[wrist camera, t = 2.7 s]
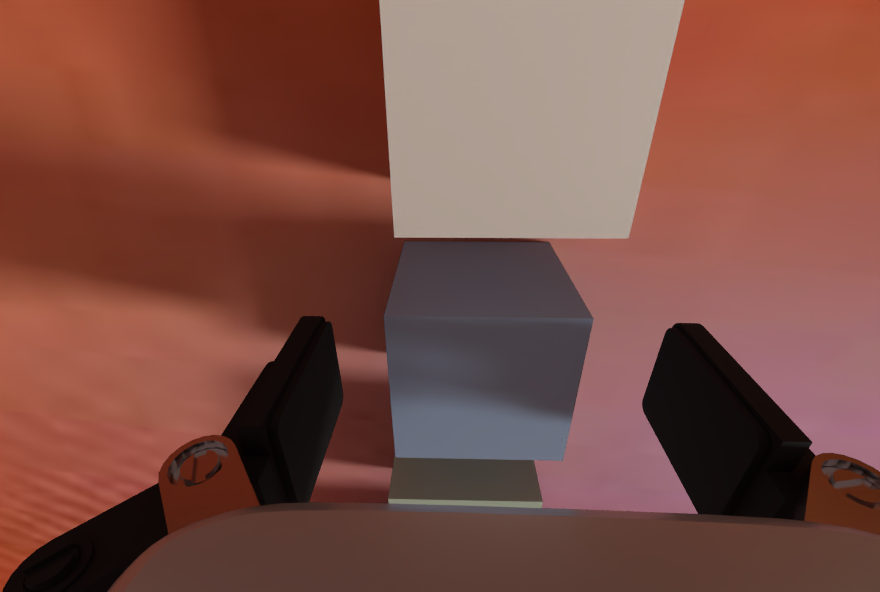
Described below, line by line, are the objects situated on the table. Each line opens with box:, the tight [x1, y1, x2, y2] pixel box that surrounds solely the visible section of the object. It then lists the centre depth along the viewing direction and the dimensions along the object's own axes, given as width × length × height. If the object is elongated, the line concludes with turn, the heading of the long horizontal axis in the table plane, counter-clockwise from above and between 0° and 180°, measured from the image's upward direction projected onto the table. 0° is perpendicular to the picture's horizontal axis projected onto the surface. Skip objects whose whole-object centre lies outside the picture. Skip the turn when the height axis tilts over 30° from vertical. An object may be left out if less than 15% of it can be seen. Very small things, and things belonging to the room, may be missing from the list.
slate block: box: [384, 241, 593, 461], centre depth 13 cm, size 5×5×5 cm
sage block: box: [388, 456, 543, 508], centre depth 16 cm, size 5×5×5 cm
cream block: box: [379, 0, 685, 238], centre depth 10 cm, size 5×5×5 cm
